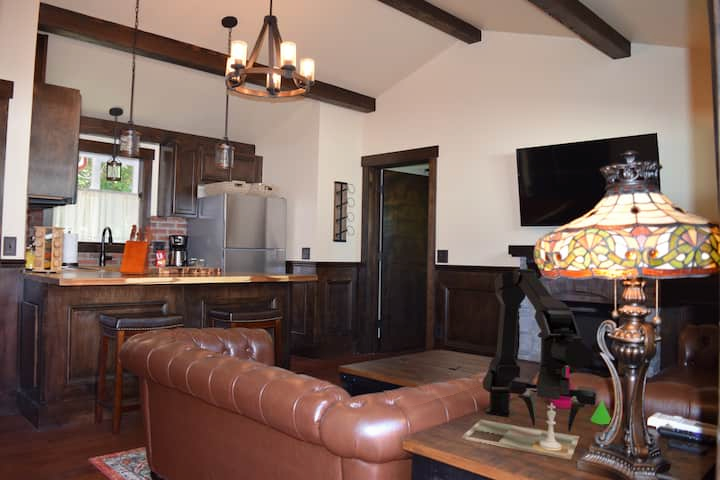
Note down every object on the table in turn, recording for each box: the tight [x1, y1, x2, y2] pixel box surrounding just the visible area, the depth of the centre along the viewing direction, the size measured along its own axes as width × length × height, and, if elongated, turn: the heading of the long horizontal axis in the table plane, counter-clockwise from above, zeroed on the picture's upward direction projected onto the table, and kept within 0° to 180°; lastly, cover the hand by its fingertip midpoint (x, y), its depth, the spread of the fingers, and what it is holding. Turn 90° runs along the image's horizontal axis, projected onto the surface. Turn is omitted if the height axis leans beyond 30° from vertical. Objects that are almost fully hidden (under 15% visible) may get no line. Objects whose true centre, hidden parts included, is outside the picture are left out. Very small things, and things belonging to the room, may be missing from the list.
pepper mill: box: [549, 366, 575, 409], centre depth 166 cm, size 7×7×20 cm
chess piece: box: [539, 402, 562, 451], centre depth 127 cm, size 5×5×10 cm
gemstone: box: [590, 400, 612, 425], centre depth 151 cm, size 6×6×6 cm
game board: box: [461, 419, 580, 460], centre depth 133 cm, size 17×24×1 cm
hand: (551, 428), depth 127 cm, fingers open, 7 cm apart
